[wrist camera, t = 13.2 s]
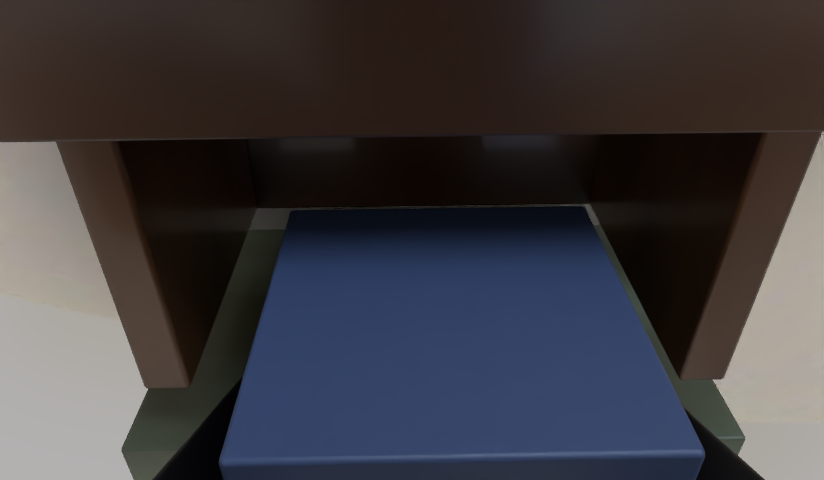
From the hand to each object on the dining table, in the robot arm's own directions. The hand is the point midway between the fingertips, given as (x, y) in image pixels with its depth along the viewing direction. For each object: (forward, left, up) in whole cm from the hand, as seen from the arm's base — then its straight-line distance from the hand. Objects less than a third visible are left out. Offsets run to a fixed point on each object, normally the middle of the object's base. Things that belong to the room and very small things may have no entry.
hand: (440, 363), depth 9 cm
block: (0, 0, -1) cm, 1 cm away
